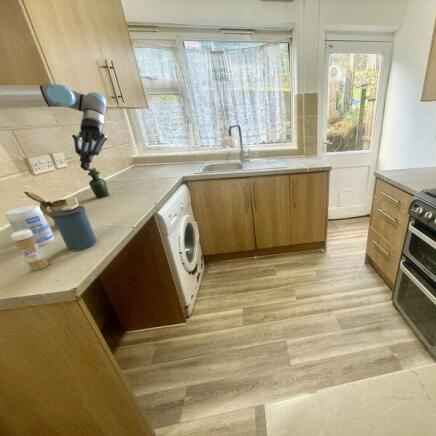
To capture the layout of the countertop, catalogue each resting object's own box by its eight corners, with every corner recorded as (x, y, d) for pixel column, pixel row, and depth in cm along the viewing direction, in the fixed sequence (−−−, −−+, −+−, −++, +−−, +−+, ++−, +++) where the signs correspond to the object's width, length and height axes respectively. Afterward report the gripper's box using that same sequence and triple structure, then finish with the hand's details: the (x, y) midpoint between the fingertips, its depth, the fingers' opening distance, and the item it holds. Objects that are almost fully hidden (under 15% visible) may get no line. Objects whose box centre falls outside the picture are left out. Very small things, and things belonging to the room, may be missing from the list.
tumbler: (77, 241, 99) (61, 206, 93) (102, 239, 101) (89, 204, 95) (61, 254, 91) (43, 216, 84) (89, 251, 92) (74, 213, 86)
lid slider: (69, 206, 93) (66, 198, 91) (79, 205, 93) (75, 197, 92) (62, 210, 89) (58, 202, 88) (71, 209, 89) (68, 201, 88)
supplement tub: (45, 246, 96) (27, 212, 89) (17, 250, 94) (-4, 216, 88) (60, 235, 104) (44, 203, 98) (35, 238, 102) (17, 206, 96)
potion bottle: (94, 197, 154) (83, 168, 146) (109, 193, 159) (99, 166, 151) (95, 200, 148) (83, 170, 141) (111, 196, 153) (100, 168, 145)
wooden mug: (45, 225, 115) (26, 189, 108) (81, 217, 122) (65, 183, 115) (41, 232, 108) (21, 194, 101) (79, 223, 115) (63, 187, 108)
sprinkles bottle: (28, 272, 80) (7, 236, 75) (35, 265, 84) (15, 230, 79) (46, 268, 82) (26, 233, 76) (51, 261, 86) (33, 227, 80)
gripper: (113, 129, 113) (107, 172, 105) (82, 130, 111) (73, 174, 103) (103, 117, 106) (96, 162, 98) (70, 117, 104) (59, 164, 96)
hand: (84, 168), depth 101 cm, fingers closed
